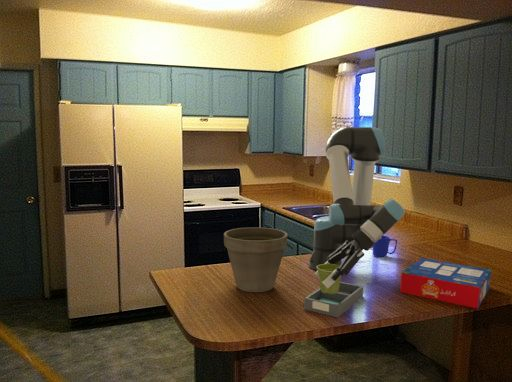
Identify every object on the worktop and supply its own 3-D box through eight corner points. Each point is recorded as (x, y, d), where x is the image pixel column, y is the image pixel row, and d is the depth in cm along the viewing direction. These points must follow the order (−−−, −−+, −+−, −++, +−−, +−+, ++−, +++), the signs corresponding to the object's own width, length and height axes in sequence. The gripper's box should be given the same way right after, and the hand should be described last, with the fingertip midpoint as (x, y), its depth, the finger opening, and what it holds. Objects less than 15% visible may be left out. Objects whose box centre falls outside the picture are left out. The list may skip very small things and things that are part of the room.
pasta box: (419, 275, 205) (400, 292, 182) (420, 257, 204) (401, 272, 181) (489, 288, 190) (478, 309, 167) (491, 269, 189) (479, 287, 166)
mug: (396, 259, 230) (398, 239, 228) (371, 257, 232) (372, 238, 231) (395, 255, 238) (396, 236, 236) (371, 253, 240) (372, 234, 239)
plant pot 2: (326, 297, 156) (327, 272, 155) (310, 289, 165) (311, 265, 164) (348, 293, 161) (349, 269, 160) (332, 285, 169) (333, 262, 168)
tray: (303, 309, 161) (303, 298, 161) (331, 290, 182) (332, 280, 182) (337, 317, 155) (338, 306, 154) (362, 296, 176) (363, 286, 175)
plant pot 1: (209, 286, 182) (210, 232, 180) (250, 273, 201) (251, 224, 198) (258, 302, 167) (260, 243, 164) (298, 286, 185) (300, 233, 183)
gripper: (386, 251, 152) (337, 299, 151) (362, 236, 173) (319, 278, 173) (372, 235, 150) (322, 283, 150) (349, 222, 172) (306, 264, 172)
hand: (320, 280), depth 162 cm, fingers closed on plant pot 2, 9 cm apart
